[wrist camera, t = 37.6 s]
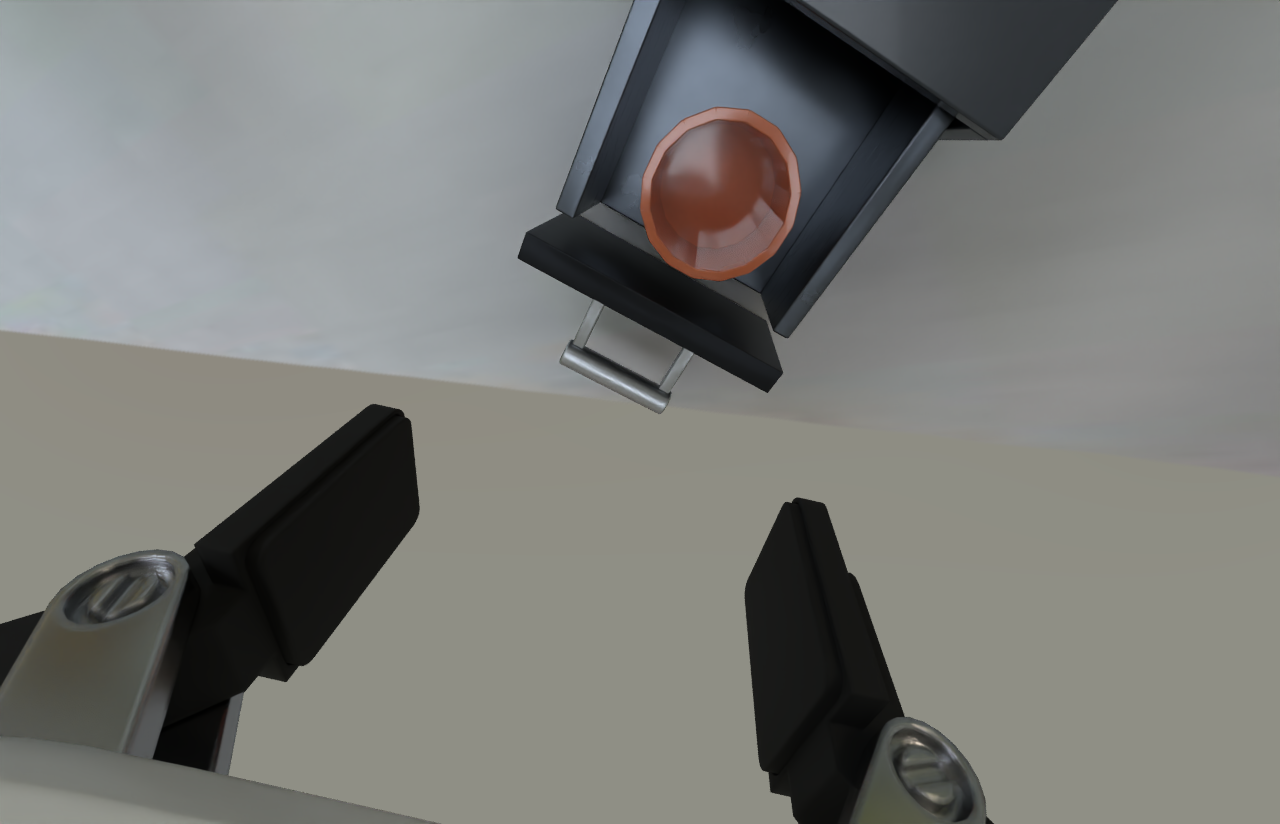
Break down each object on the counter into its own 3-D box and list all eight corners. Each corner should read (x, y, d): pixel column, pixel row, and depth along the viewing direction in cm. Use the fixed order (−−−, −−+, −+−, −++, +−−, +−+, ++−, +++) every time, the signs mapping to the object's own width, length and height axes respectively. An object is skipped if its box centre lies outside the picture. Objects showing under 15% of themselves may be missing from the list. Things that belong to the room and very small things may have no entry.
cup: (808, 158, 21) (835, 163, 16) (734, 274, 24) (741, 306, 19) (694, 86, 20) (690, 71, 16) (633, 216, 23) (615, 235, 19)
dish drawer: (709, 400, 29) (710, 466, 23) (531, 307, 27) (483, 352, 22) (954, 57, 19) (1059, 22, 14) (699, -124, 18) (695, -252, 12)
